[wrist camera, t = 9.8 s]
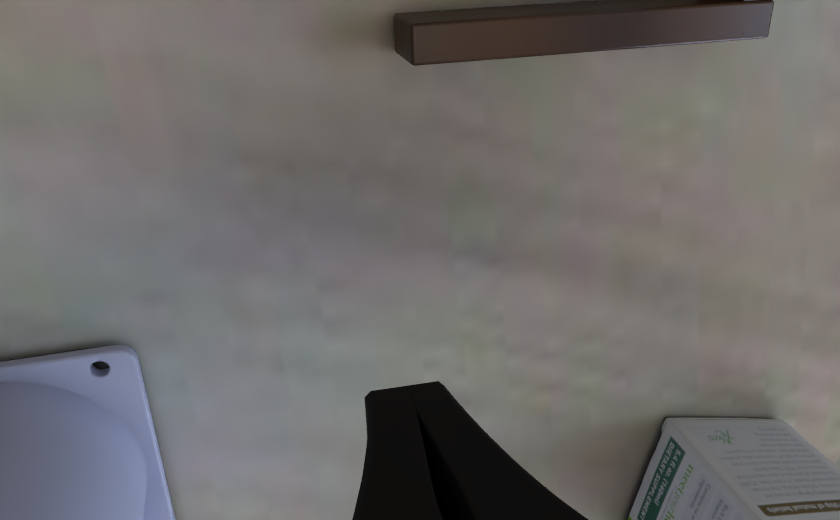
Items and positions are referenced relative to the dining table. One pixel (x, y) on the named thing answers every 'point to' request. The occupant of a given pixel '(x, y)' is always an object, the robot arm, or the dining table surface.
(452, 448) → the robot arm
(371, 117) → the dining table surface
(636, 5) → the frame
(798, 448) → the syrup box
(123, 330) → the dining table surface
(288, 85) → the dining table surface
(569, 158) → the dining table surface
